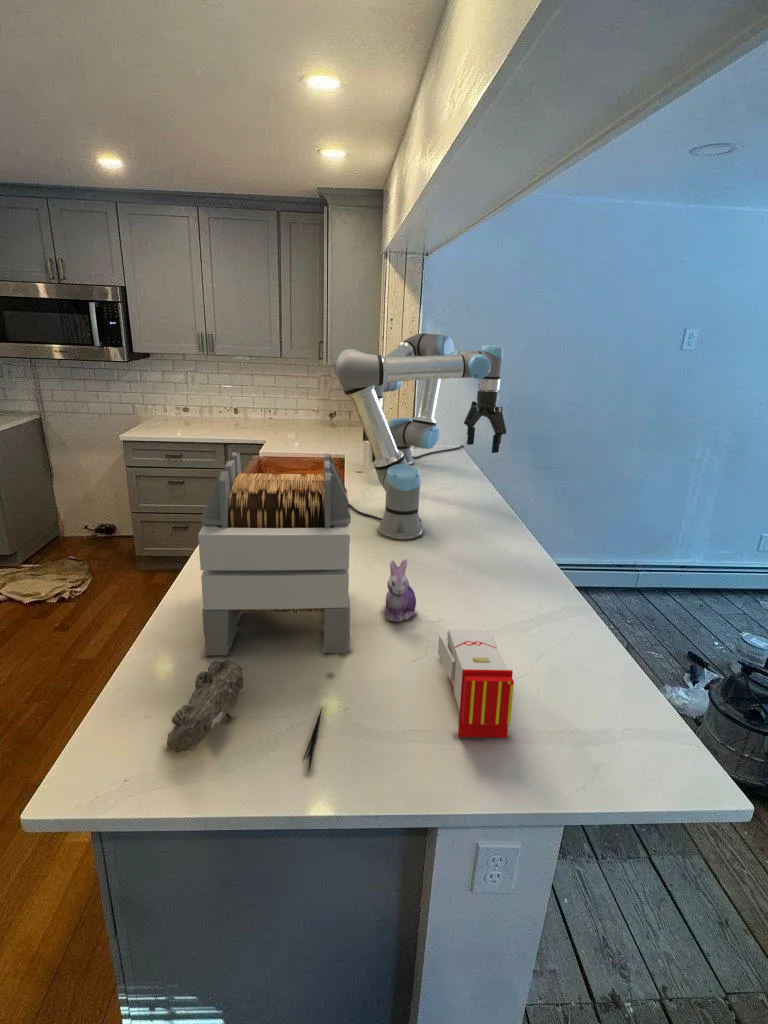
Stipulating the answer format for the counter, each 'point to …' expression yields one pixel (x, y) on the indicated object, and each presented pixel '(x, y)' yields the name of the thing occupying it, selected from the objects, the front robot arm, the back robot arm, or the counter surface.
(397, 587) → the figurine
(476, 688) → the toy
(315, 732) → the feather
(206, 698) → the fossil
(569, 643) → the counter surface
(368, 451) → the block
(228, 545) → the record crate
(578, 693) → the counter surface
